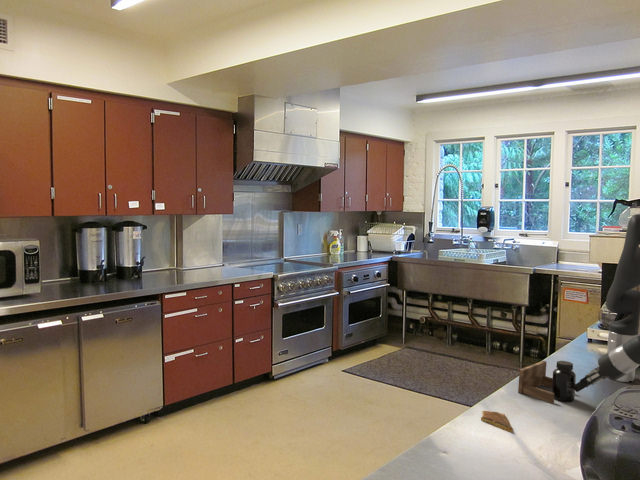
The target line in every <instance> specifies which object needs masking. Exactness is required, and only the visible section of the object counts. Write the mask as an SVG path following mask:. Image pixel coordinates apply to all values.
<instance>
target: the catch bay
mask: <svg viewBox="0 0 640 480" xmlns="http://www.w3.org/2000/svg"><path fill="white" fill-rule="evenodd" d="M518 373H519V374H518V388H517V389H518V390H517V393H518V394H523V395H526V396H529V397H532V398H535V399H538V400H542V401H543V402H547V403H549V404H550V403H551V404H553V403H555V399H554V393H552V391H548V390H545V389H542V388H539V387H540V386H545V387H548V388H551V389H552V380H553V377H549V376H546V375H547V361H546V360H541V361H539V362H536V363H533V364H530V365H528V366H526V367H522V368H520V369H519V372H518Z"/></svg>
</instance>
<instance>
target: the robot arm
mask: <svg viewBox="0 0 640 480" xmlns="http://www.w3.org/2000/svg"><path fill="white" fill-rule="evenodd" d="M638 286H640V213H637V214H634V215H632V216H631V217H630V218H629V220H628V222H627V227H626V233H625V239H624V244H623V248H622V252H621V255H620V257H619V260H618V263H617V266H616V270H615V274H614V279H613V281H612V284H611V286H610V288H609V289H608V292H607V295H606V299H605V304H606V305H605V307H606V309H607V310H608V311H609V312H610V313H612V314H620V315H628V316H627V317H624V318H623V319H619V320H614V321H612V322H610V323H609V326H608V336H607V348H606V350H607V351H606V354H604V355H603V356H602V355H601V357H599V358H598V359H597V364H598V367H595V368H593V369H591V370H590V372H588V373H587V374H586V375H584V376H583V378H581V379H580V380H579V382H577V383H576V384H575V385H574V386H573V388H574V390H575V393H579V392H581V391H582V390H584V389H586V388H588V387H591V386H594V385H596V384H598V383H599V382H601V383H602V381H604V380H606V379H611V380H612V381H616V382H621V383H622V382H623V383H630V382H629V381H632V382H634V381H635V373H636V369H637V368H639V366H640V335H639V326H640V291H639V290H638V289H635V288H637V287H638ZM633 380H634V381H633Z"/></svg>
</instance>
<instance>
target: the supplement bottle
mask: <svg viewBox="0 0 640 480" xmlns="http://www.w3.org/2000/svg"><path fill="white" fill-rule="evenodd" d="M555 366H556V368H555V369H554V370H552V378H553V380H552V388H551V392H552V393H554V400H557V401H558V402H565V403H571V402H574V401H575V398H576V391H575V390H574V388H573V386H574V385H575V384H577V383H576V381H577V380H576V379H577V375H576V373H575V371H573V370H574V364H573V363H572V362H570V361H568V360H558V361H556V365H555Z"/></svg>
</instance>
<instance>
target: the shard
mask: <svg viewBox="0 0 640 480" xmlns="http://www.w3.org/2000/svg"><path fill="white" fill-rule="evenodd" d="M481 413H482V417H480V420H481V421H482V422H486V423H488V422H489V424H490V423H491V425H493V426H494V427H497V428H499V427H500V429H502V430H505V431H507V432H511V433H513V432H514V431H515V430H514V428H513V427H512V425H511V423H510V420H509V419H508V417H507V416H506V414H505V413H501V412H498V411H491V410H482V411H481Z"/></svg>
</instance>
